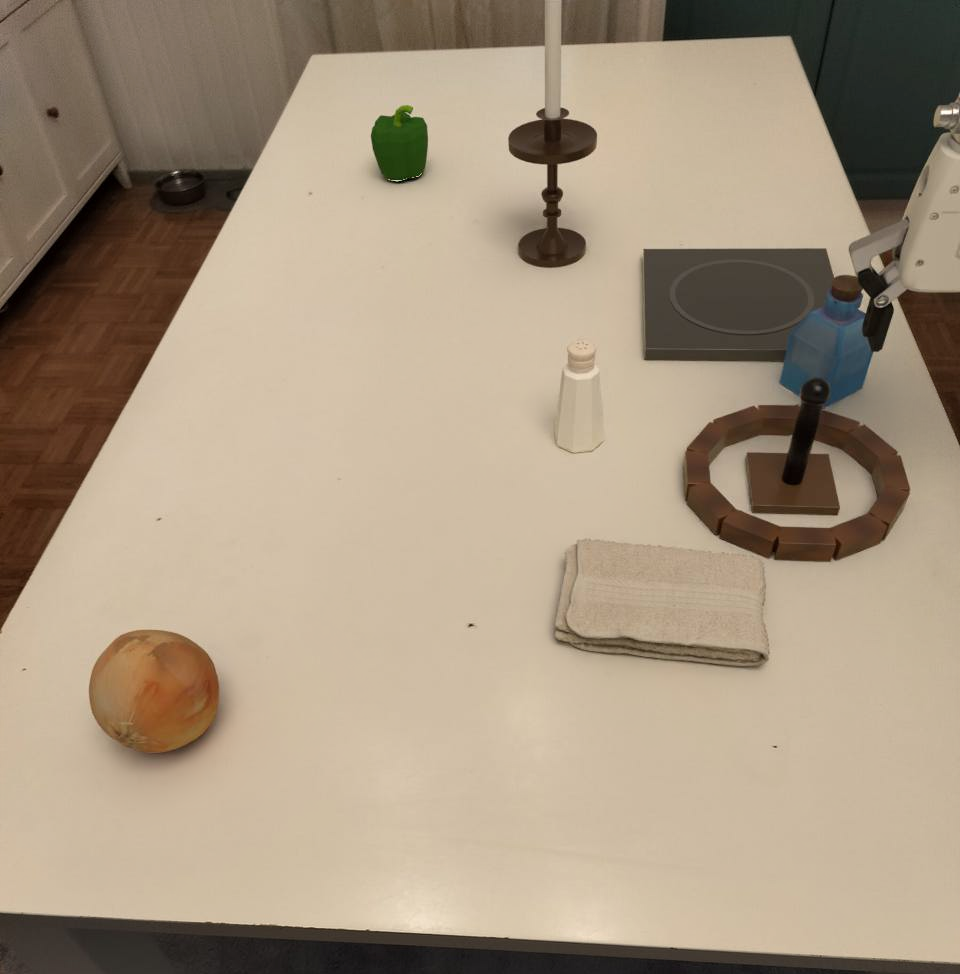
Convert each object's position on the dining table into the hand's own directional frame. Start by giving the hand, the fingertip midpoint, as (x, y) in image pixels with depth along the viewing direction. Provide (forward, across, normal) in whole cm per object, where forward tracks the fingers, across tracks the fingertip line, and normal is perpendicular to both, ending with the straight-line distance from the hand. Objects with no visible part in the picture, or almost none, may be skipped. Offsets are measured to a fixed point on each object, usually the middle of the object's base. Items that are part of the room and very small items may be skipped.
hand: (933, 342), depth 76 cm
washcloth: (+17, -21, -16) cm, 32 cm away
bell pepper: (+17, -58, +71) cm, 93 cm away
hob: (+16, -10, +34) cm, 39 cm away
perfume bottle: (+17, -3, +18) cm, 25 cm away
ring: (+16, -8, +1) cm, 18 cm away
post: (+16, -8, +1) cm, 18 cm away
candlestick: (+17, -34, +48) cm, 61 cm away
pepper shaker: (+17, -29, +8) cm, 35 cm away
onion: (+17, -62, -31) cm, 71 cm away
